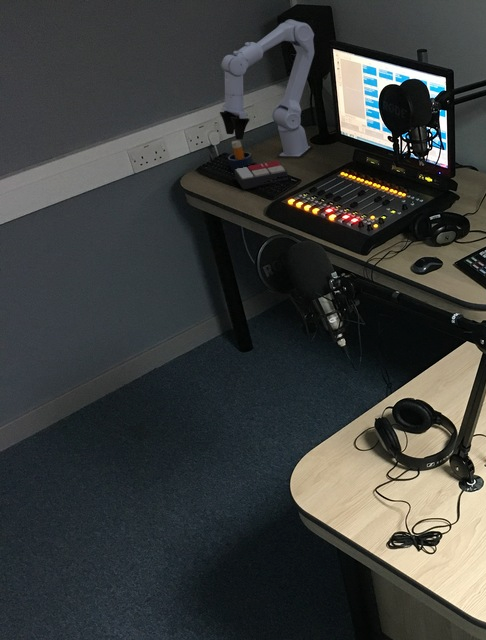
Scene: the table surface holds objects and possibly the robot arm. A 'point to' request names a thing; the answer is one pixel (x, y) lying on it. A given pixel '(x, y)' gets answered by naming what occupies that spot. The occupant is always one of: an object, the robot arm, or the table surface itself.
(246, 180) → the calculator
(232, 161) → the dark blue round bowl
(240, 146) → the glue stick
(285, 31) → the robot arm
